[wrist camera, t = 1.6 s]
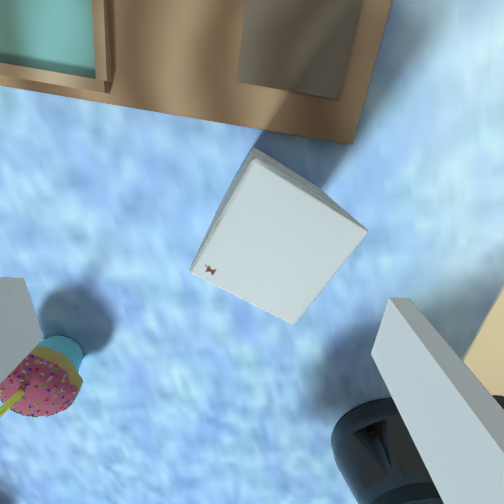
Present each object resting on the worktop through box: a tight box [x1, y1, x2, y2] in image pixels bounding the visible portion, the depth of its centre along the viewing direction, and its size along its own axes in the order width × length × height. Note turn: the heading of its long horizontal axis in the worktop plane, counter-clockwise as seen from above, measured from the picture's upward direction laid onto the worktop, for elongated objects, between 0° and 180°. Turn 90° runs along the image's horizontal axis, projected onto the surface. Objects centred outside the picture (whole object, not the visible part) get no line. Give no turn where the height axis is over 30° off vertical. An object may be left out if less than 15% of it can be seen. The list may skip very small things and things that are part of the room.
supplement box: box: [189, 147, 368, 324], centre depth 21 cm, size 7×7×13 cm
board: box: [0, 0, 392, 145], centre depth 20 cm, size 34×14×2 cm, turn 81°
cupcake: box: [0, 336, 83, 417], centre depth 29 cm, size 9×8×12 cm
